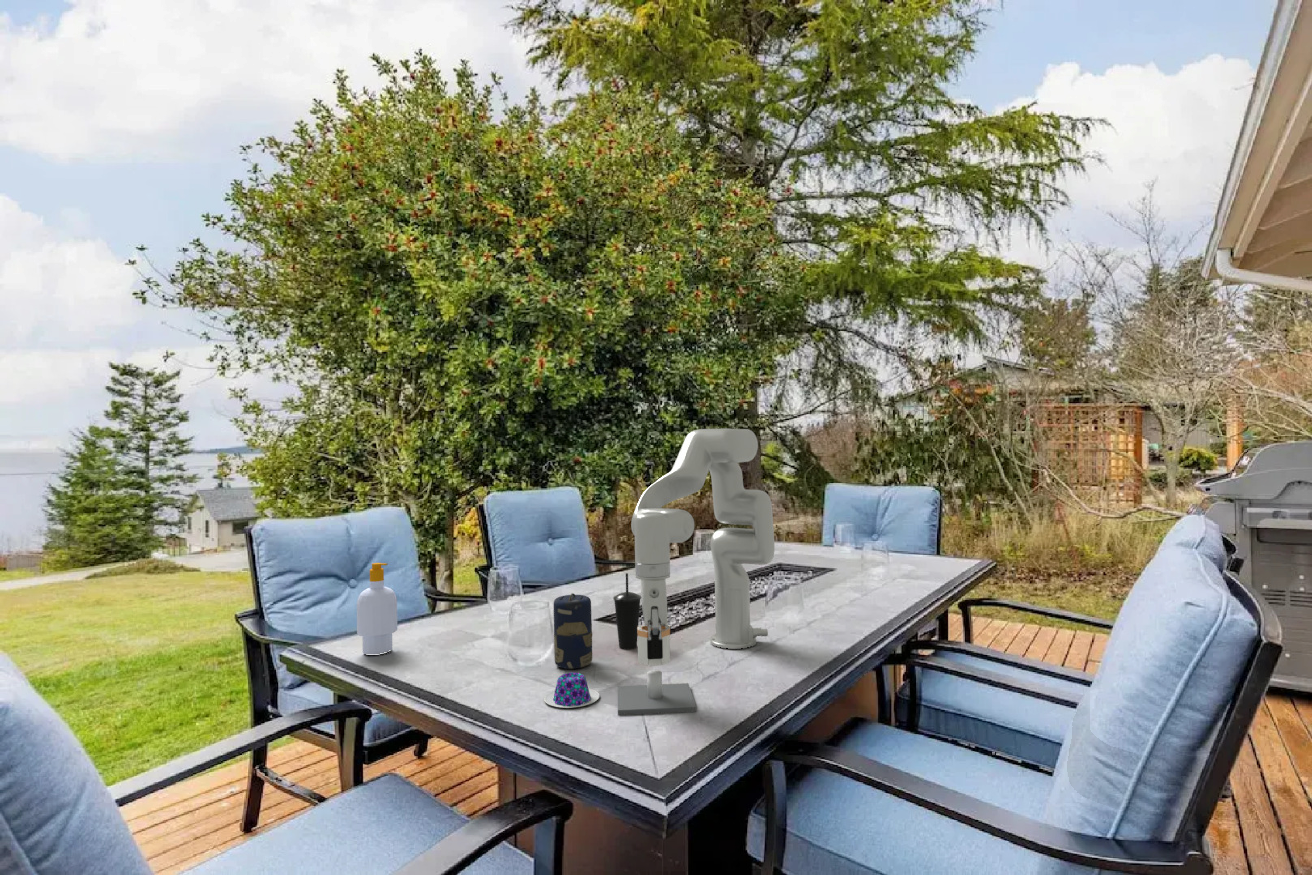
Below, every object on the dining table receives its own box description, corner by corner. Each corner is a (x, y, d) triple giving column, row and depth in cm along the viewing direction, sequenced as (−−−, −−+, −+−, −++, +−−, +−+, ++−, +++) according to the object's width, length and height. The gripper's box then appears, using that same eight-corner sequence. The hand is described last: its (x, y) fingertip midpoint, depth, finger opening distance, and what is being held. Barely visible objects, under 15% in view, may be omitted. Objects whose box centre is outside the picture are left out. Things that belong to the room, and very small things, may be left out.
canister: (598, 661, 174) (597, 590, 174) (582, 673, 165) (581, 598, 165) (565, 657, 177) (563, 588, 177) (547, 669, 168) (546, 596, 168)
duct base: (688, 687, 153) (688, 660, 153) (695, 711, 139) (695, 682, 139) (617, 690, 152) (617, 663, 152) (617, 714, 138) (617, 685, 138)
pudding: (556, 715, 140) (556, 689, 140) (536, 697, 150) (535, 673, 150) (608, 703, 146) (608, 679, 146) (585, 686, 156) (585, 664, 156)
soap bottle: (383, 659, 178) (382, 567, 179) (348, 657, 180) (347, 566, 181) (405, 647, 188) (404, 560, 189) (372, 646, 190) (371, 560, 191)
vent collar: (668, 655, 150) (668, 623, 150) (671, 664, 143) (670, 631, 143) (637, 656, 149) (637, 624, 149) (638, 666, 142) (638, 632, 142)
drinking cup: (638, 651, 181) (637, 576, 181) (610, 650, 183) (609, 575, 183) (644, 643, 188) (643, 571, 189) (618, 642, 190) (616, 570, 190)
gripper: (673, 577, 138) (674, 665, 138) (666, 562, 155) (668, 641, 155) (636, 578, 137) (637, 666, 137) (634, 563, 155) (635, 642, 154)
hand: (654, 652), depth 146 cm, fingers closed on vent collar, 6 cm apart
